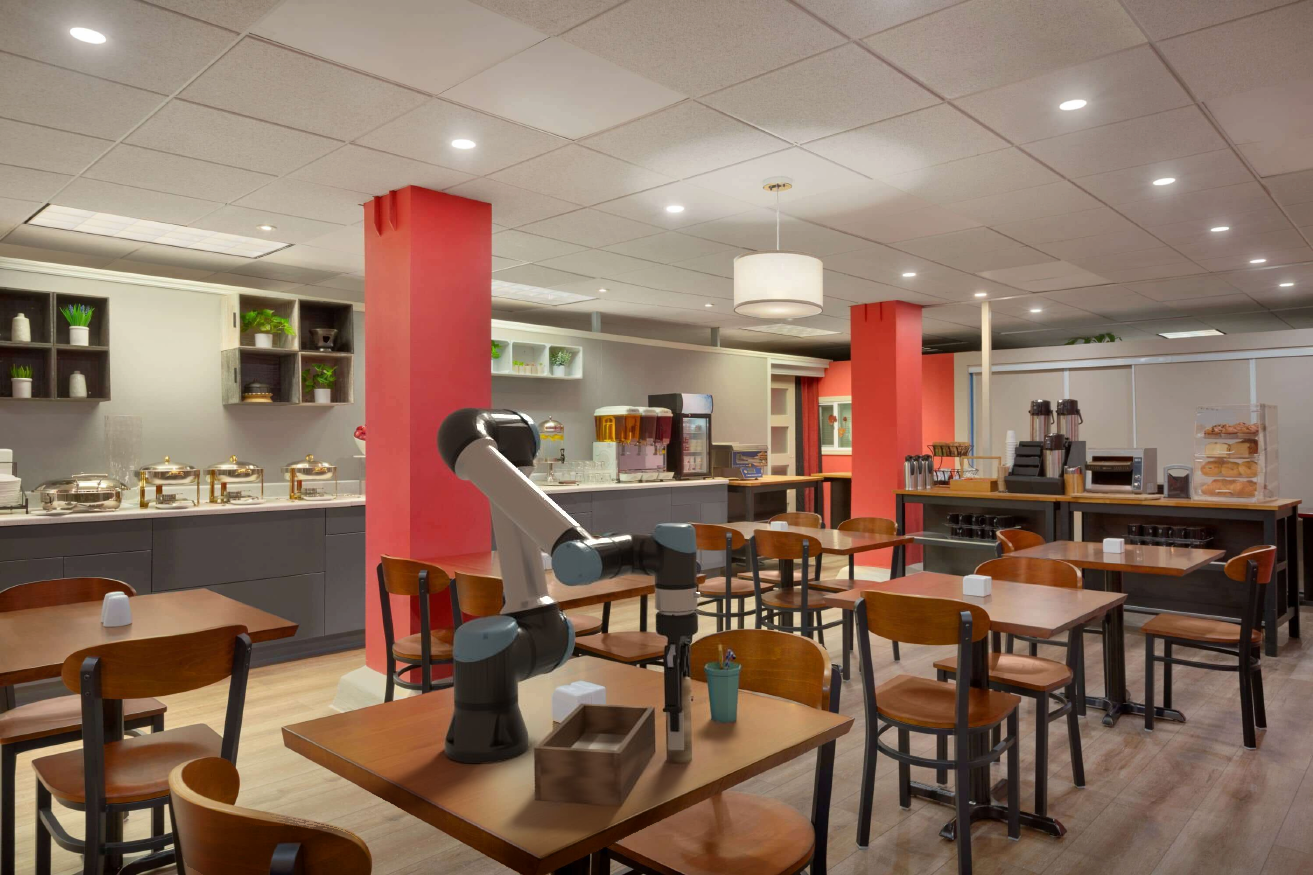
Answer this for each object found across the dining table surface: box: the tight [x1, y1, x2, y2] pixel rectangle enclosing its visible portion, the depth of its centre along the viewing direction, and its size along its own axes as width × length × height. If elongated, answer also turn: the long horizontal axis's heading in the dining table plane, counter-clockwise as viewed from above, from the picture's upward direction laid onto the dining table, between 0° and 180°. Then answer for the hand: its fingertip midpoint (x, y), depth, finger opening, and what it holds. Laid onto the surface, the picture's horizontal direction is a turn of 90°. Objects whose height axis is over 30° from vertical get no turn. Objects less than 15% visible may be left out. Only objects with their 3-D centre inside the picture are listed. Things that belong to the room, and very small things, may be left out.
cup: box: [704, 644, 742, 724], centre depth 167 cm, size 14×8×15 cm, turn 12°
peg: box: [665, 676, 693, 765], centre depth 146 cm, size 4×4×14 cm
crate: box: [533, 702, 657, 807], centre depth 140 cm, size 14×24×8 cm, turn 167°
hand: (679, 743), depth 146 cm, fingers closed on peg, 4 cm apart
